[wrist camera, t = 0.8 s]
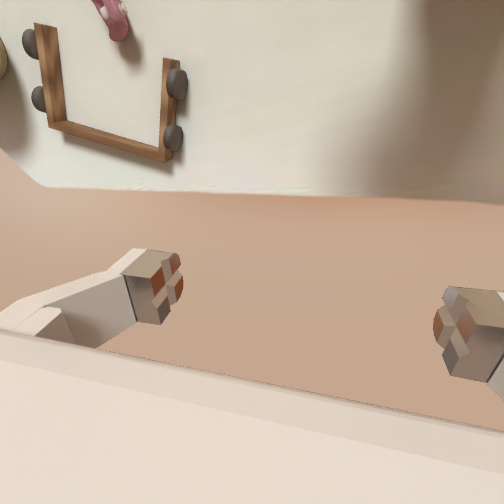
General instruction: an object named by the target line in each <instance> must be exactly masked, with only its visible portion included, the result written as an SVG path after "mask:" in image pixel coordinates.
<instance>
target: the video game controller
mask: <svg viewBox="0 0 504 504" xmlns="http://www.w3.org/2000/svg"><path fill="white" fill-rule="evenodd" d="M92 2H93V3H94V4H95V6H96V8H97V10H98V11H99V13H100V15H101V17H102V18H103V20H104V22H105V23H106V25H107V26H108V28H109V36H110V38H111V40H113V41H116V42H118V41H122V40H123V39H124V38H125V37H126V35H127V32H128V22H127V19H126V14H127V9H126V7H125V6H124V5H123V4H122V3H121V2H120V0H92Z"/></svg>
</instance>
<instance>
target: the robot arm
mask: <svg viewBox="0 0 504 504" xmlns="http://www.w3.org/2000/svg"><path fill="white" fill-rule="evenodd" d="M180 265H181V263H180V258H179V255H177V254H176V253H171V252H164V251H157V250H149V249H143V248H142V249H141V248H133V249H132V250H130V251H129V252H128V253H127V254H126V255H125V256H123V257H122V258H121V259H120V260H118V261H117V262H116V263H115V264H114V265H112V266H111V267H110V268H109V269H108V270H106V271H105V272H98V273H96V274H92V275H89V276H86V277H83V278H81V279H78V280H75V281H72V282H69V283H66V284H63V285H61V286H58V287H54V288H52V289H49V290H46V291H43V292H40V293H37V294H34V295H31V296H28V297H25V298H23V299H20V300H18V301H16V302H15V303H13V304H12V305H11V306H9V307H8V308H6V309H5V310H3V311H2V312H0V504H504V431H501V430H496V429H491V428H486V427H481V426H476V425H471V424H466V423H461V422H456V421H451V420H446V419H442V418H437V417H431V416H427V415H422V414H417V413H412V412H407V411H402V410H398V409H393V408H388V407H383V406H378V405H373V404H368V403H363V402H358V401H353V400H348V399H343V398H339V397H333V396H329V395H324V394H319V393H313V392H309V391H304V390H299V389H294V388H289V387H284V386H279V385H274V384H269V383H264V382H259V381H254V380H249V379H244V378H239V377H234V376H230V375H225V374H220V373H215V372H210V371H205V370H199V369H195V368H190V367H184V366H180V365H174V364H170V363H165V362H160V361H155V360H150V359H145V358H140V357H135V356H130V355H125V354H121V353H116V352H111V351H106V350H100V349H96V348H97V347H99V346H100V345H102V344H104V343H105V342H107V341H108V340H110V339H112V338H113V337H115V336H116V335H118V334H119V333H121V332H123V331H124V330H126V329H127V328H129V327H131V326H132V325H134V324H135V323H136V322H143V323H150V324H157V325H161V324H162V323H163V321H164V320H165V318H166V317H167V315H168V314H169V312H170V305H172V304H174V303H176V302H177V301H178V299H179V298H180V296H181V293H182V290H183V276H182V275H181V273H180V272H179V271H178V270H177V269H178V268H179V266H180ZM442 298H443V300H444V302H445V305H444V306H443V307H441V308H440V309H438V310H437V312H436V315H435V318H434V324H433V330H434V336H435V339H436V341H437V343H438V344H439V345H440V346H442V347H443V348H444V349H445V350H444V352H443V354H442V356H443V359H444V361H445V364H446V366H447V369H448V371H449V374H450V375H451V376H455V377H460V378H465V379H470V380H475V381H480V382H485V383H488V384H487V385H488V386H489V387H490V388H491V389H492V390H493V391H494V392H495V393H496V394H497V395H498V396H499V397H500V398H501V399H503V400H504V291H495V290H482V289H472V288H462V287H452V286H449V287H448V288H447V289H446V290H445V293H444V295H443V297H442Z"/></svg>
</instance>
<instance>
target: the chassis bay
mask: <svg viewBox="0 0 504 504" xmlns="http://www.w3.org/2000/svg"><path fill="white" fill-rule="evenodd" d="M34 28H35V30H33V29H27V30H26V31H25V32H24V33H23V36H22V44H23V47H24V49H25V51H26V53H27V54H28V55H29V56H30V57H31V58H34V59H37V60H39V63H40V70H41V77H42V84H43V87H41V86H38V87H36V88H35V89H34V90H33V92H32V96H31V98H32V103H33V105H34V107H35V108H36V109H37V110H39V111H42V112H45V113H47V119H48V126H49V128H52V129H55V130H59V131H62V132H65V133H69V134H72V135H75V136H79V137H82V138H85V139H89V140H92V141H95V142H99V143H102V144H105V145H108V146H112V147H115V148H118V149H122V150H125V151H128V152H132V153H135V154H138V155H142V156H145V157H148V158H152V159H155V160H158V161H162V162H166V161H168V160H171V159H172V158H173V151H178V150H179V148H180V146H181V144H182V139H183V131H182V128H181V127H180V126H176V125H175V117H176V104H177V99H179V100H182V99H183V98H184V96H185V94H186V91H187V84H188V80H187V74H186V72H185V71H183V70H179V64H180V61H178V60H174V59H169V58H163V69H162V90H161V110H160V131H159V148H158V147H154V146H151V145H148V144H144V143H141V142H138V141H134V140H131V139H127V138H124V137H121V136H117V135H114V134H111V133H107V132H104V131H101V130H97V129H94V128H91V127H87V126H84V125H80V124H77V123H74V122H70V121H67V119H66V110H65V101H64V91H63V82H62V73H61V64H60V55H59V46H58V37H57V28H56V27H52V26H48V25H43V24H38V23H34Z"/></svg>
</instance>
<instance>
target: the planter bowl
mask: <svg viewBox="0 0 504 504" xmlns="http://www.w3.org/2000/svg"><path fill="white" fill-rule="evenodd" d="M6 69H7V55H6V51H5V48H4V45H3V43H2V41H1V39H0V78H1V77H2V76H3V75H4V74H5V72H6Z"/></svg>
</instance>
